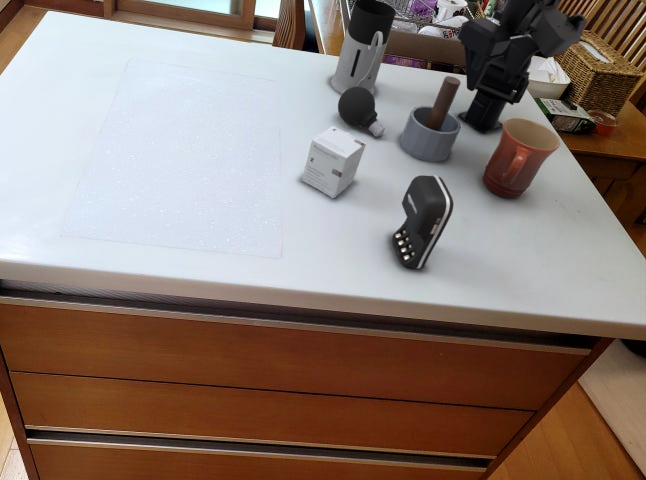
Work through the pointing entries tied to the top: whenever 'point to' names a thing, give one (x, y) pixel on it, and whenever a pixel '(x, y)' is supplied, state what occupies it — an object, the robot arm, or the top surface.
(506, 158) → the mug
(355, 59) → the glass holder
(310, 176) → the white cardboard box
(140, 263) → the top surface
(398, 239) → the battery charger
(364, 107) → the light bulb
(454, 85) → the brown wooden pestle
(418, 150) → the grey stone mortar
